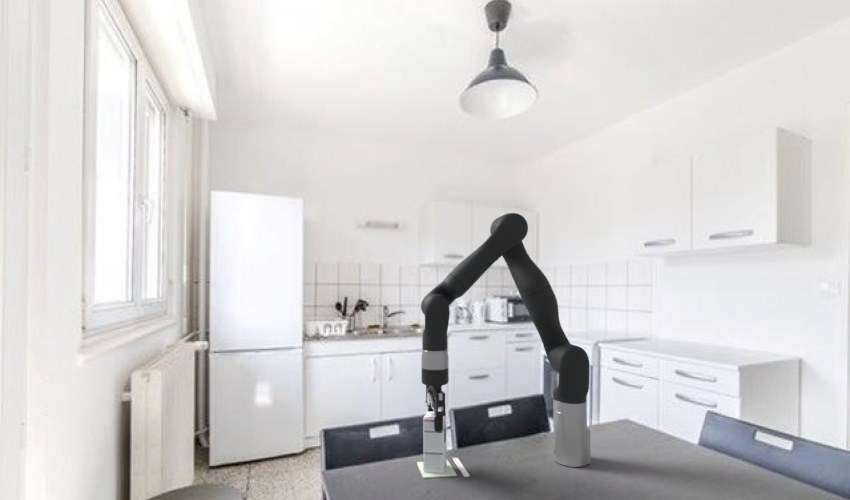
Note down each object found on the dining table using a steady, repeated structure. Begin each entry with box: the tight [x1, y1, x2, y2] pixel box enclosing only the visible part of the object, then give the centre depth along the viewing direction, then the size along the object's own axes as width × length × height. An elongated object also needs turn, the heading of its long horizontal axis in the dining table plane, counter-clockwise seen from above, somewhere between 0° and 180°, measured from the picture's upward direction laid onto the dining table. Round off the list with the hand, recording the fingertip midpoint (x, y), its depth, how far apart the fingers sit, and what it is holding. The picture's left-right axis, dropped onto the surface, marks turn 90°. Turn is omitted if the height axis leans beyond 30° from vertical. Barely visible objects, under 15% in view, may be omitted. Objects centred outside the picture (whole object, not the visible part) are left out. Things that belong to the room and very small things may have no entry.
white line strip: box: [452, 457, 470, 478], centre depth 121 cm, size 2×12×1 cm, turn 11°
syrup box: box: [422, 411, 448, 473], centre depth 120 cm, size 6×6×14 cm
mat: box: [416, 459, 457, 479], centre depth 119 cm, size 9×10×1 cm
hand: (435, 425), depth 120 cm, fingers open, 8 cm apart
